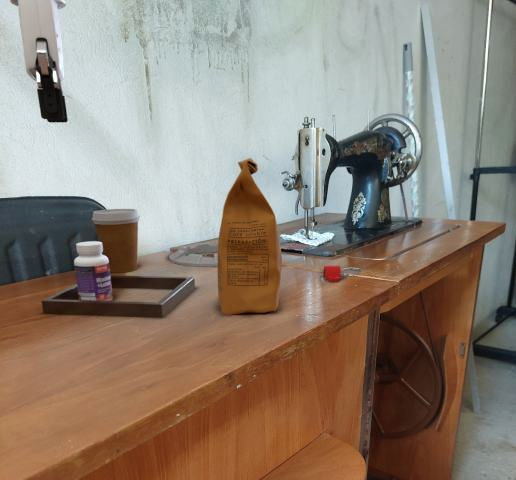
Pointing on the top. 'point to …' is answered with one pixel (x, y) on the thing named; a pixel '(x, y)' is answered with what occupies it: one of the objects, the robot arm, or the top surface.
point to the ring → (195, 256)
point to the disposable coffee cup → (118, 237)
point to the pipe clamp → (332, 273)
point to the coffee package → (248, 249)
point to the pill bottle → (92, 272)
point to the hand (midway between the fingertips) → (55, 120)
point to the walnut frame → (69, 305)
